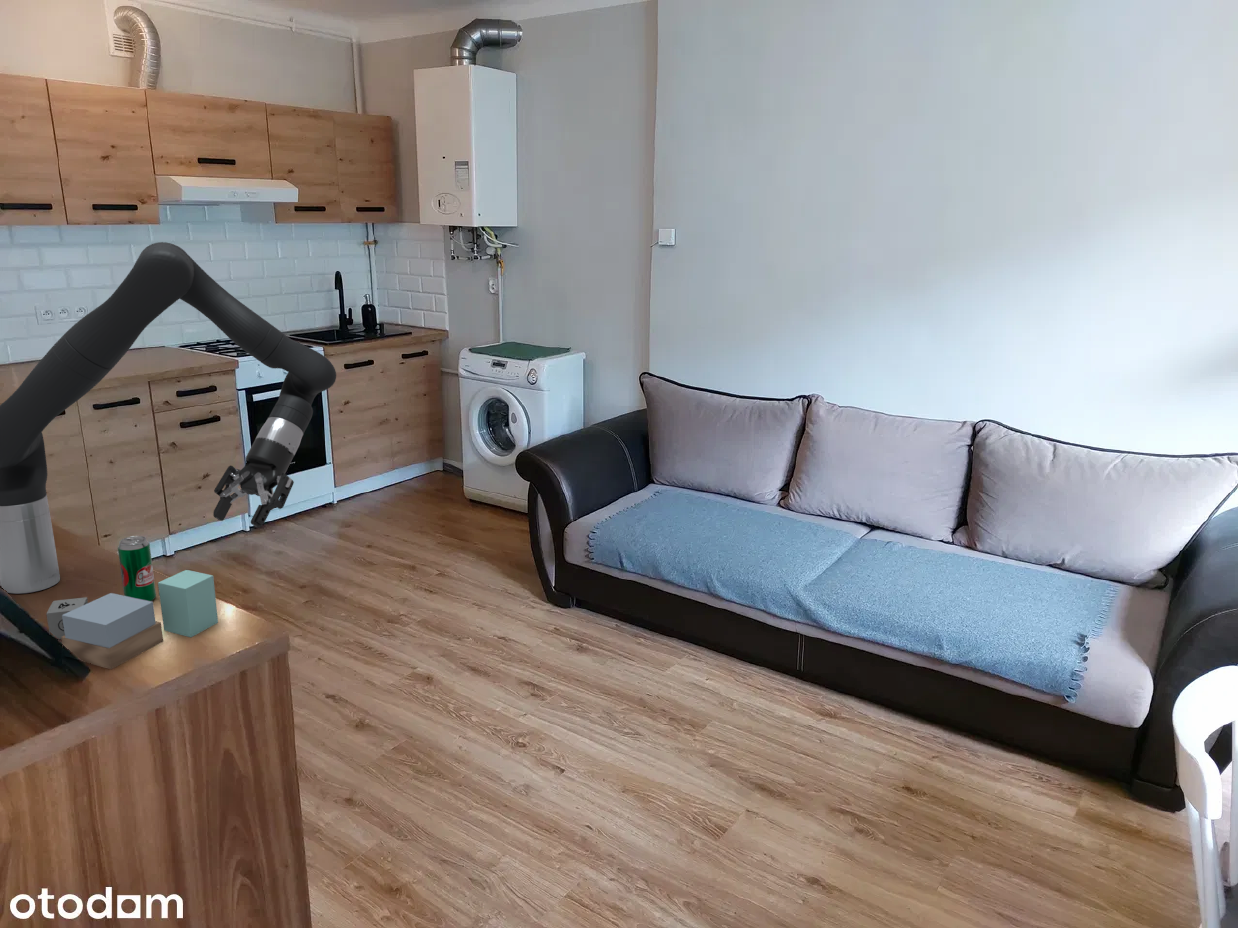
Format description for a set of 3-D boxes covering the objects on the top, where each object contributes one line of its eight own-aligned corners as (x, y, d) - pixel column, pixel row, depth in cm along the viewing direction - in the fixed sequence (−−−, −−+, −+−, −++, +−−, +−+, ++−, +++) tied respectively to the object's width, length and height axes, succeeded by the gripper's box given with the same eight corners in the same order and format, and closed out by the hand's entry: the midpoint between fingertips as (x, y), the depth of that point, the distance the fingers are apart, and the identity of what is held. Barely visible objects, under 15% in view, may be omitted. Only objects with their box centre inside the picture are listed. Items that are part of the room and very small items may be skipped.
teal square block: (164, 630, 147) (157, 582, 144) (191, 616, 152) (186, 569, 150) (191, 637, 145) (185, 588, 142) (218, 622, 150) (213, 575, 148)
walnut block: (64, 659, 138) (61, 636, 136) (118, 632, 147) (115, 611, 145) (111, 671, 134) (108, 649, 133) (163, 643, 143) (160, 622, 142)
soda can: (143, 608, 154) (134, 546, 151) (118, 604, 155) (110, 543, 152) (162, 596, 159) (155, 536, 156) (139, 593, 160) (131, 533, 157)
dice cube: (57, 627, 147) (53, 600, 145) (91, 623, 149) (87, 597, 147) (50, 640, 142) (46, 613, 141) (85, 636, 144) (81, 609, 143)
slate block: (65, 637, 136) (61, 615, 135) (113, 614, 144) (110, 592, 143) (109, 648, 133) (105, 625, 132) (155, 623, 142) (152, 601, 141)
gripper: (233, 432, 162) (192, 507, 155) (295, 440, 157) (255, 518, 150) (256, 452, 168) (217, 525, 161) (316, 461, 163) (279, 536, 156)
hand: (236, 522), depth 155 cm, fingers open, 8 cm apart
